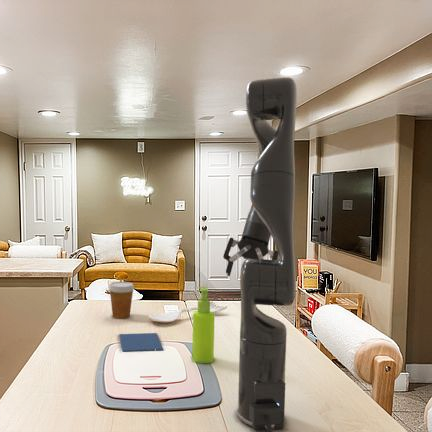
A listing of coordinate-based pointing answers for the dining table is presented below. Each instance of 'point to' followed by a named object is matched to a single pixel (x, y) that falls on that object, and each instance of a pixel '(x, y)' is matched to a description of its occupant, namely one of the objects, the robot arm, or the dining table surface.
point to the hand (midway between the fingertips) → (243, 280)
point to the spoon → (175, 315)
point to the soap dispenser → (203, 330)
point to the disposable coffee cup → (121, 298)
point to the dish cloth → (140, 342)
